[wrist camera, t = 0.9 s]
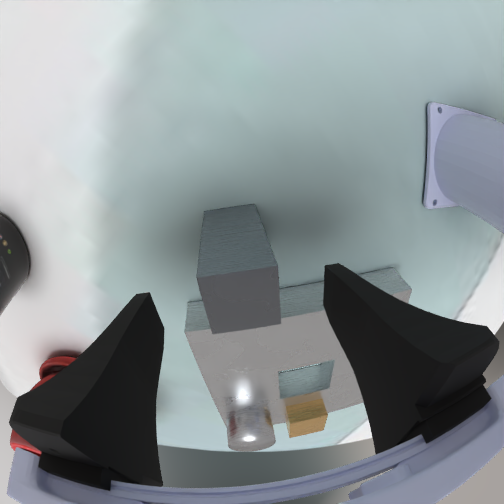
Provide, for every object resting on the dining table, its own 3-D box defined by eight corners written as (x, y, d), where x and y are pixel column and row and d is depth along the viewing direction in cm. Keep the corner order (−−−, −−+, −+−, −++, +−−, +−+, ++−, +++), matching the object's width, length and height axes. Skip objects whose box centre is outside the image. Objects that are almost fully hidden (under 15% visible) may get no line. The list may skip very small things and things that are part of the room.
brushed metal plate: (392, 267, 20) (433, 314, 14) (362, 380, 28) (379, 420, 22) (187, 302, 19) (181, 369, 14) (226, 408, 27) (230, 454, 22)
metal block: (254, 203, 16) (277, 265, 10) (259, 248, 18) (281, 323, 11) (204, 211, 16) (196, 277, 10) (212, 254, 17) (212, 334, 11)
